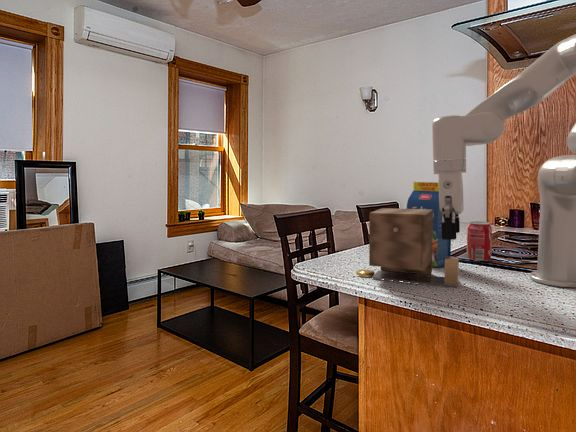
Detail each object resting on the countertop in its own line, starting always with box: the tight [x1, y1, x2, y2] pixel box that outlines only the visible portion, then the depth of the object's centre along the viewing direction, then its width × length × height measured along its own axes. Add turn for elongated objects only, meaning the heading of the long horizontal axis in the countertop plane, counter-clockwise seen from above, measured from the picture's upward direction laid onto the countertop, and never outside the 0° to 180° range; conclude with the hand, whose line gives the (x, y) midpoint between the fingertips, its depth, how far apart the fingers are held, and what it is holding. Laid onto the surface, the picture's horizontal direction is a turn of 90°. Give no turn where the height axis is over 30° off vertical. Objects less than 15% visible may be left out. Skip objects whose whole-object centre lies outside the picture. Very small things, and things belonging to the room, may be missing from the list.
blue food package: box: [406, 181, 452, 269], centre depth 123 cm, size 6×12×25 cm, turn 31°
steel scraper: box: [371, 256, 460, 289], centre depth 106 cm, size 21×7×7 cm, turn 63°
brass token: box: [355, 269, 375, 277], centre depth 112 cm, size 5×5×1 cm
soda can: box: [466, 220, 493, 262], centre depth 126 cm, size 7×7×12 cm
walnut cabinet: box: [368, 207, 433, 276], centre depth 108 cm, size 14×14×18 cm
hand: (451, 235), depth 101 cm, fingers open, 9 cm apart
